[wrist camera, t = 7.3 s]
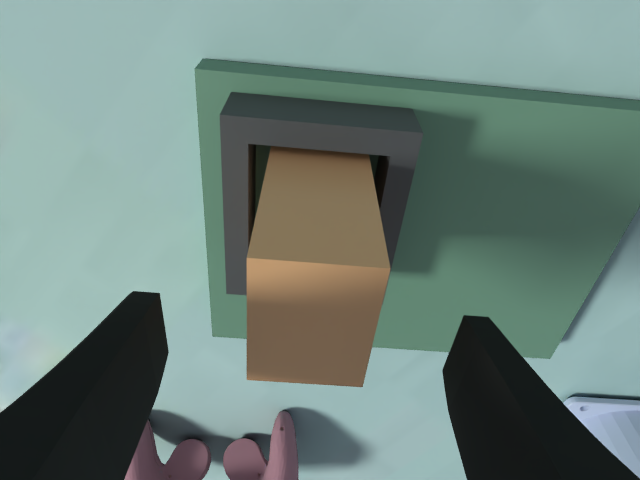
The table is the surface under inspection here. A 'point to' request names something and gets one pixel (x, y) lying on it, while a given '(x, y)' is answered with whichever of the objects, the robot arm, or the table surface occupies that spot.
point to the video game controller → (239, 458)
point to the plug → (315, 269)
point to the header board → (432, 192)
